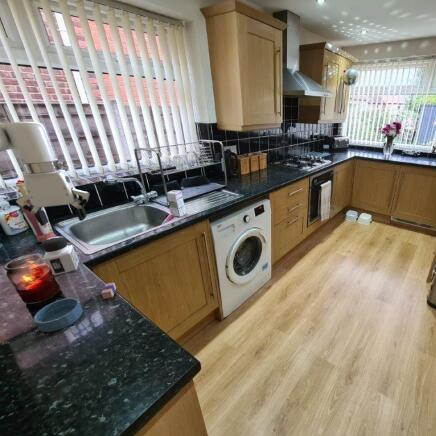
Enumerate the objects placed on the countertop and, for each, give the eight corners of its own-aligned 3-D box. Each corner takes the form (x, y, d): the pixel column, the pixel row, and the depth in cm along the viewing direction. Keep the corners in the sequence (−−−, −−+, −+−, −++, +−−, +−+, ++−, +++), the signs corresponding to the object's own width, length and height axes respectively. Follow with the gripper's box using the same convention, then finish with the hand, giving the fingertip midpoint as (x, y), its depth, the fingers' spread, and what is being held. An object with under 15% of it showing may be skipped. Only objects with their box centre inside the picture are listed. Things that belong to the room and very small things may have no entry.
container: (77, 270, 94) (64, 240, 89) (50, 277, 90) (35, 246, 85) (79, 260, 100) (67, 232, 95) (54, 267, 96) (40, 238, 91)
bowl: (31, 338, 66) (25, 327, 64) (49, 312, 74) (44, 302, 73) (76, 327, 69) (71, 317, 68) (88, 303, 78) (84, 294, 76)
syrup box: (186, 213, 148) (181, 190, 142) (179, 217, 142) (175, 193, 137) (178, 212, 149) (173, 189, 143) (171, 216, 144) (166, 192, 138)
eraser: (113, 297, 80) (110, 290, 79) (103, 299, 79) (100, 292, 78) (116, 288, 84) (114, 281, 83) (107, 290, 84) (105, 283, 83)
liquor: (53, 242, 115) (27, 185, 104) (33, 245, 112) (4, 186, 101) (60, 235, 121) (36, 180, 110) (42, 238, 119) (15, 182, 108)
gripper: (83, 163, 77) (100, 213, 83) (10, 167, 71) (35, 221, 77) (73, 167, 70) (93, 221, 77) (-7, 173, 64) (22, 231, 71)
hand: (64, 221), depth 77 cm, fingers open, 9 cm apart
